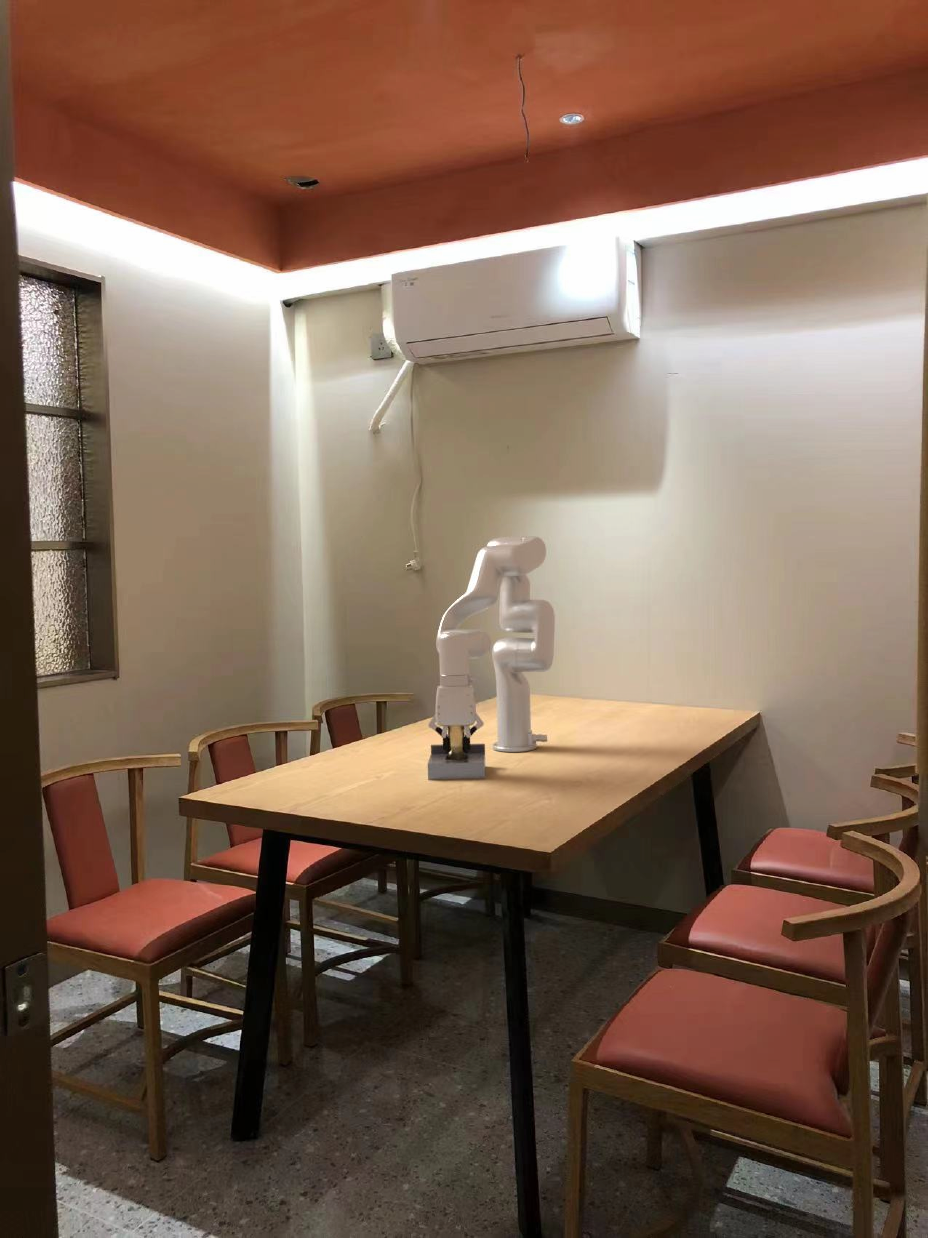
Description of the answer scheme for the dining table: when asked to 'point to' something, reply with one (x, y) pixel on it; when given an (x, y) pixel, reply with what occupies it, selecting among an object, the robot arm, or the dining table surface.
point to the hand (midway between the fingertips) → (456, 751)
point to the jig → (457, 764)
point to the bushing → (456, 742)
